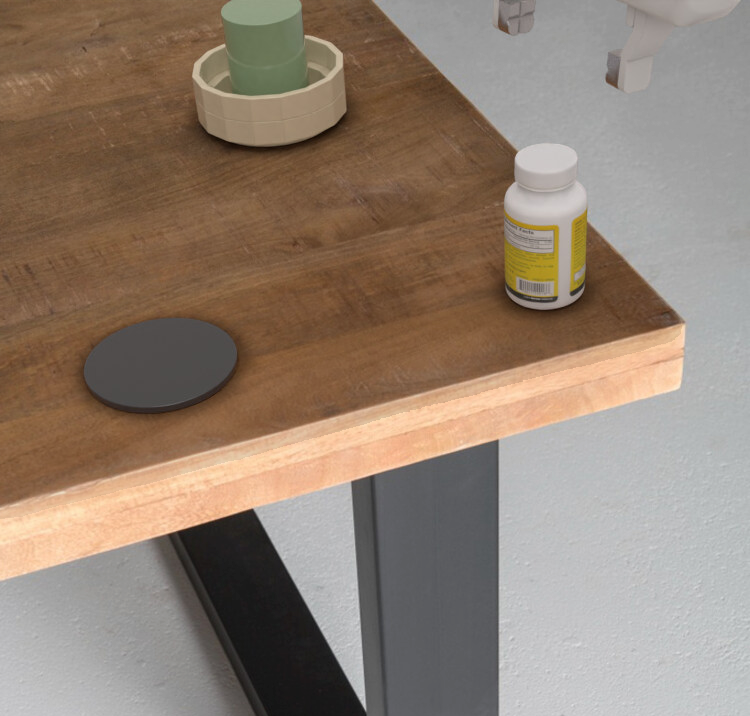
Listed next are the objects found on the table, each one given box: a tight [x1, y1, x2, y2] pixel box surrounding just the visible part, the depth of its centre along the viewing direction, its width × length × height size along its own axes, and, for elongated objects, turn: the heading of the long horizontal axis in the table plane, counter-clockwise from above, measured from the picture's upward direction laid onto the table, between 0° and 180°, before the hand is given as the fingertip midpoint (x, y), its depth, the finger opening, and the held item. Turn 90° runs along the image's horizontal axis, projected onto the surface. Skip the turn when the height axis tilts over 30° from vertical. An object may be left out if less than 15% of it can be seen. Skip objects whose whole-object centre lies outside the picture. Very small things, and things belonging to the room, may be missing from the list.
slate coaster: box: [83, 317, 239, 414], centre depth 92 cm, size 10×10×1 cm
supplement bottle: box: [503, 142, 589, 311], centre depth 92 cm, size 5×5×10 cm
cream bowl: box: [191, 34, 348, 148], centre depth 116 cm, size 12×12×4 cm
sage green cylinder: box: [220, 0, 309, 96], centre depth 114 cm, size 6×6×8 cm
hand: (567, 58), depth 75 cm, fingers open, 8 cm apart
